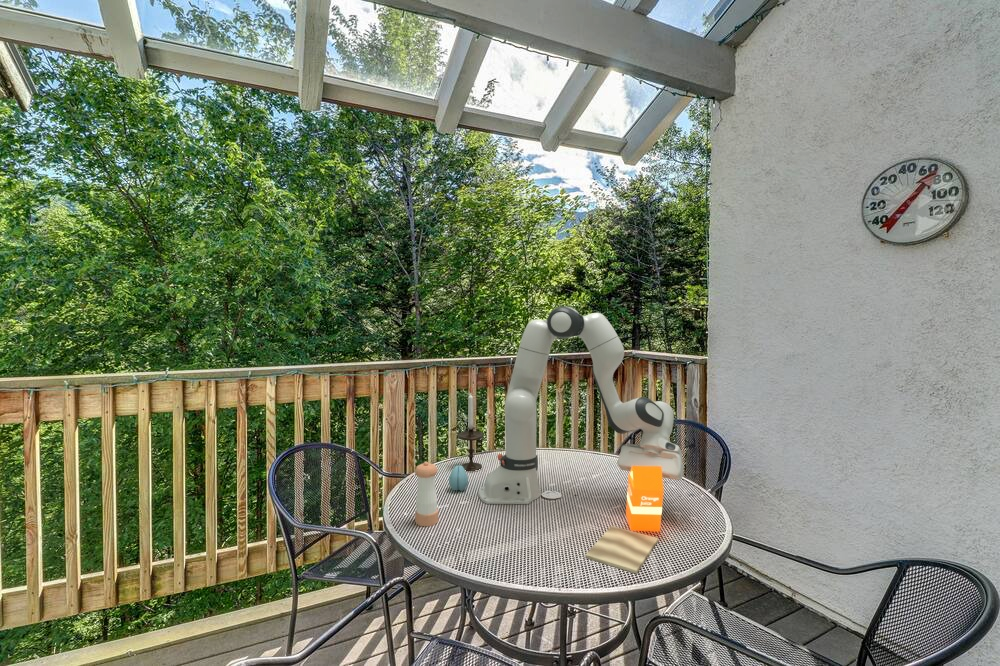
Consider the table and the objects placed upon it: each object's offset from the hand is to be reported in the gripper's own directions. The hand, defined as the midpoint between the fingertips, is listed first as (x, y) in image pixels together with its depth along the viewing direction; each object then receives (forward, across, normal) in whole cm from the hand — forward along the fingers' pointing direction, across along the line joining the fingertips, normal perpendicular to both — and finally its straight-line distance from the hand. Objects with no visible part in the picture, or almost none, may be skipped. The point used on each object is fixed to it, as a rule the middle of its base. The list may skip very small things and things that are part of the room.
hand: (645, 486), depth 147 cm
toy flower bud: (+15, -67, +2) cm, 68 cm away
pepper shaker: (+34, -58, -18) cm, 70 cm away
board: (+22, 0, -6) cm, 23 cm away
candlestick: (+1, -75, +15) cm, 77 cm away
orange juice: (+10, 0, +6) cm, 11 cm away
